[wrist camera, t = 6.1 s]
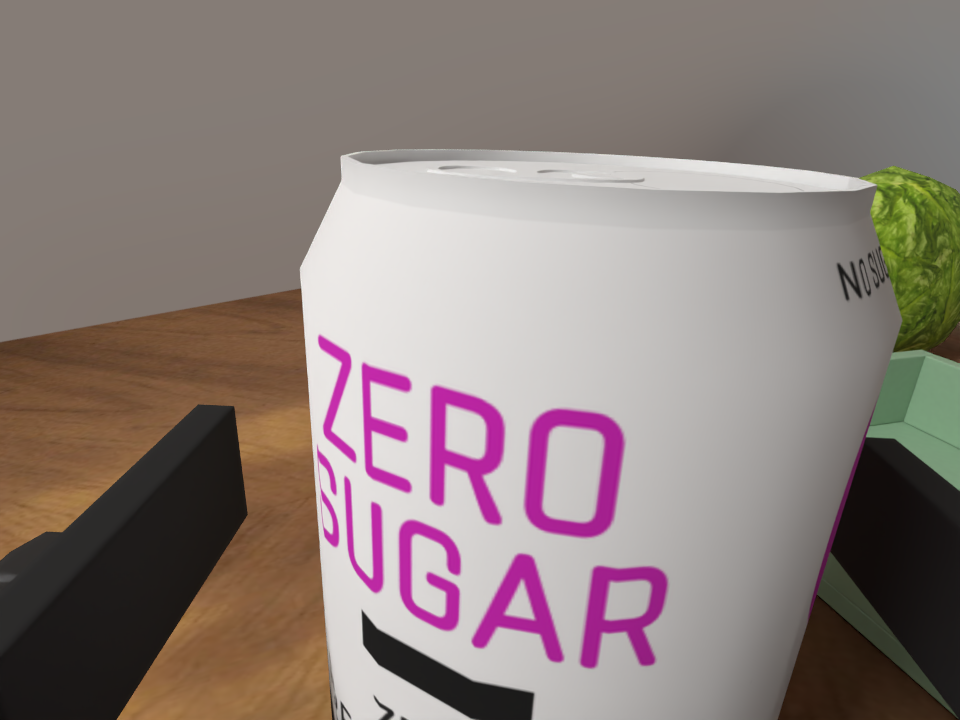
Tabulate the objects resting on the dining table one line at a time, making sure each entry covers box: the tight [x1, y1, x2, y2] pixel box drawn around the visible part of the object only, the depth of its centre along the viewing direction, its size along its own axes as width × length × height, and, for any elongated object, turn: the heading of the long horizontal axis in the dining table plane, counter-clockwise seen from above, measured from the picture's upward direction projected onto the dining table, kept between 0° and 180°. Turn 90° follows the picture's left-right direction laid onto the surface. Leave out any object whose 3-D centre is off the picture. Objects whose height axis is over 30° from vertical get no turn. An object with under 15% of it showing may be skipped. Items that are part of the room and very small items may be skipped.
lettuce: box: [859, 166, 960, 353], centre depth 51 cm, size 14×24×14 cm
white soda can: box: [300, 149, 902, 720], centre depth 11 cm, size 8×8×15 cm
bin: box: [817, 350, 960, 719], centre depth 25 cm, size 16×16×5 cm
